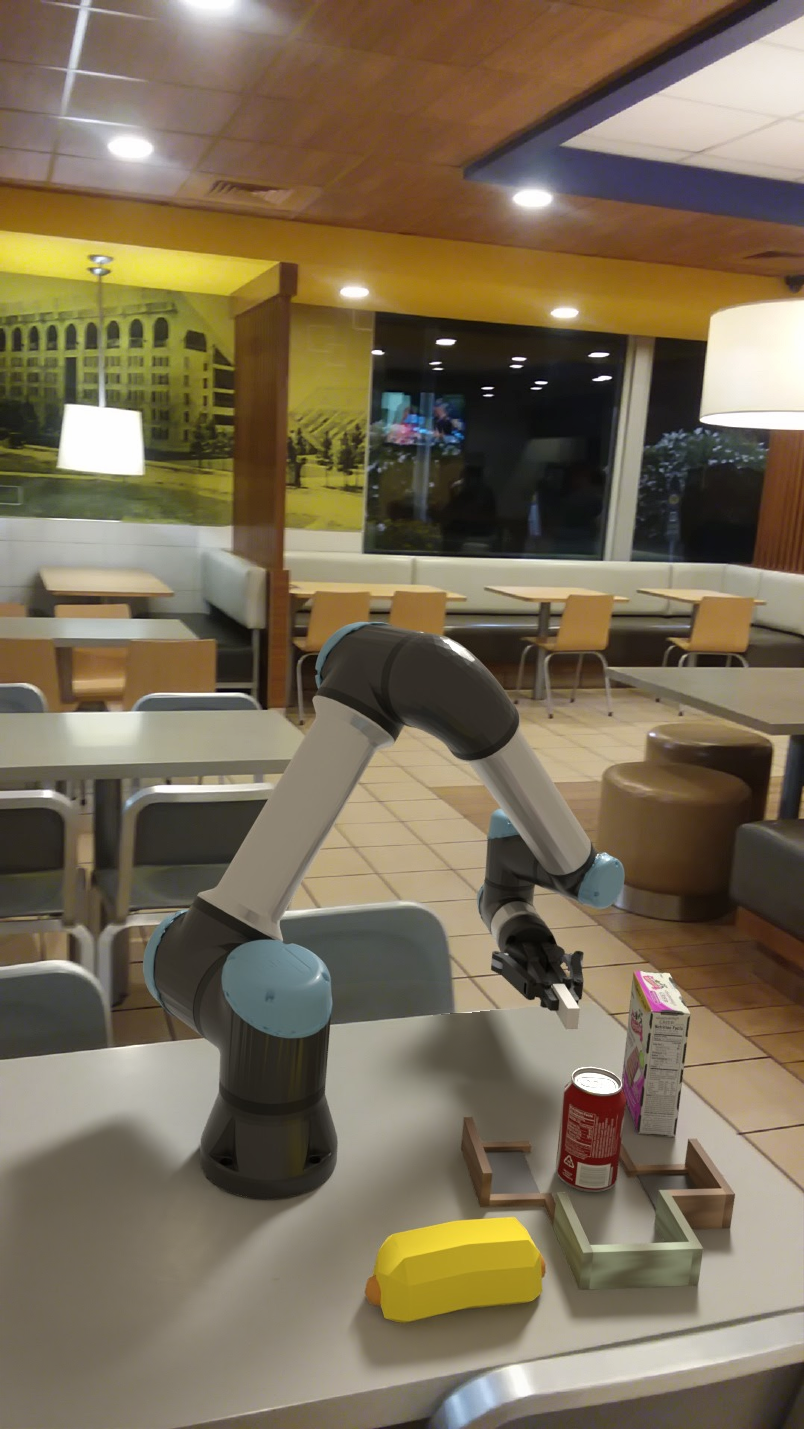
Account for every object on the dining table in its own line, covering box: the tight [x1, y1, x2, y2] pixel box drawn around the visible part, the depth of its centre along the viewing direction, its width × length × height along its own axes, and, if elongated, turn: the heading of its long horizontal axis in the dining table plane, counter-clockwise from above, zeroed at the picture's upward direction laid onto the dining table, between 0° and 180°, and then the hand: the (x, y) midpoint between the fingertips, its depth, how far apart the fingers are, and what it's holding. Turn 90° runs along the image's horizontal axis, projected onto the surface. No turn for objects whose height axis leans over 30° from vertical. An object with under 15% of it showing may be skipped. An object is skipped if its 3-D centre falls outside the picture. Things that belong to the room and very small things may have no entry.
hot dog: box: [364, 1216, 547, 1324], centre depth 100 cm, size 18×7×8 cm
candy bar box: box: [621, 970, 692, 1138], centre depth 133 cm, size 11×5×16 cm, turn 179°
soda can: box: [555, 1066, 627, 1193], centre depth 119 cm, size 7×7×12 cm
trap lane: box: [460, 1116, 736, 1291], centre depth 114 cm, size 26×23×4 cm
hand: (572, 1018), depth 129 cm, fingers closed
